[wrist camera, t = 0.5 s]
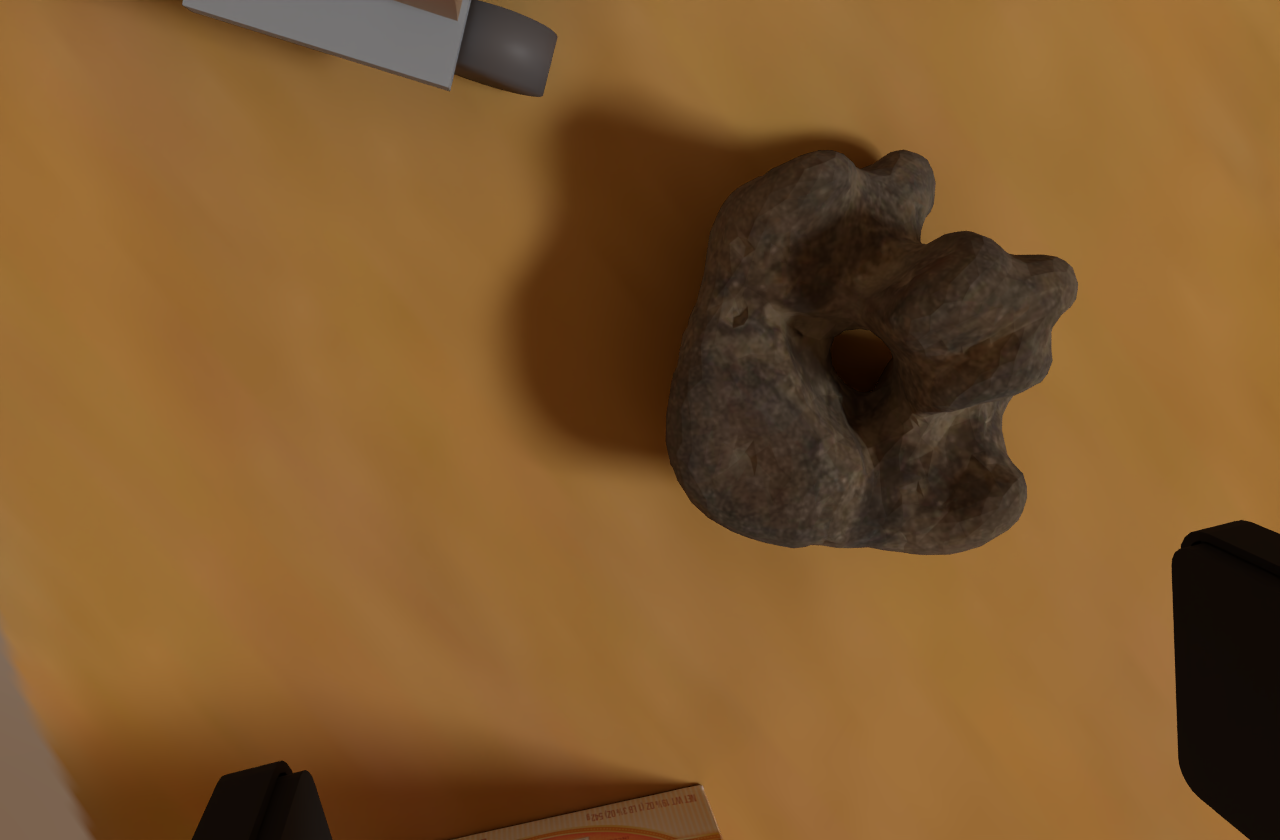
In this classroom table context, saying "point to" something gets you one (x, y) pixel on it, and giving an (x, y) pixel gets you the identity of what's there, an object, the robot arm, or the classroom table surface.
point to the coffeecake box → (624, 821)
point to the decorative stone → (816, 396)
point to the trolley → (407, 37)
